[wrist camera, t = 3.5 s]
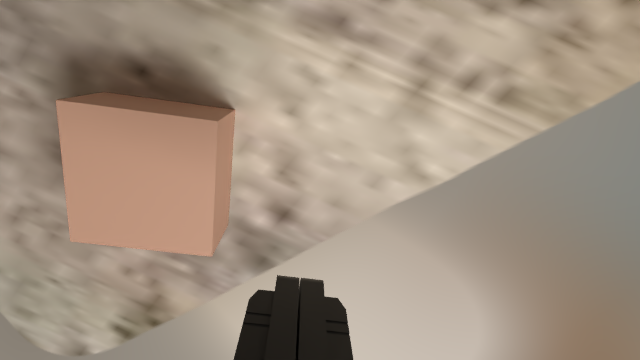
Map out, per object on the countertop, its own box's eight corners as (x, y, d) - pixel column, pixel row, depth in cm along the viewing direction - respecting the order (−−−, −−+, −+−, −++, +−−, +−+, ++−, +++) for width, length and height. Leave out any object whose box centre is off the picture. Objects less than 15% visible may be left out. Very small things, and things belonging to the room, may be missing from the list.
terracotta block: (105, 91, 22) (55, 99, 18) (235, 109, 22) (217, 121, 18) (112, 209, 24) (70, 241, 20) (229, 222, 25) (211, 256, 21)
